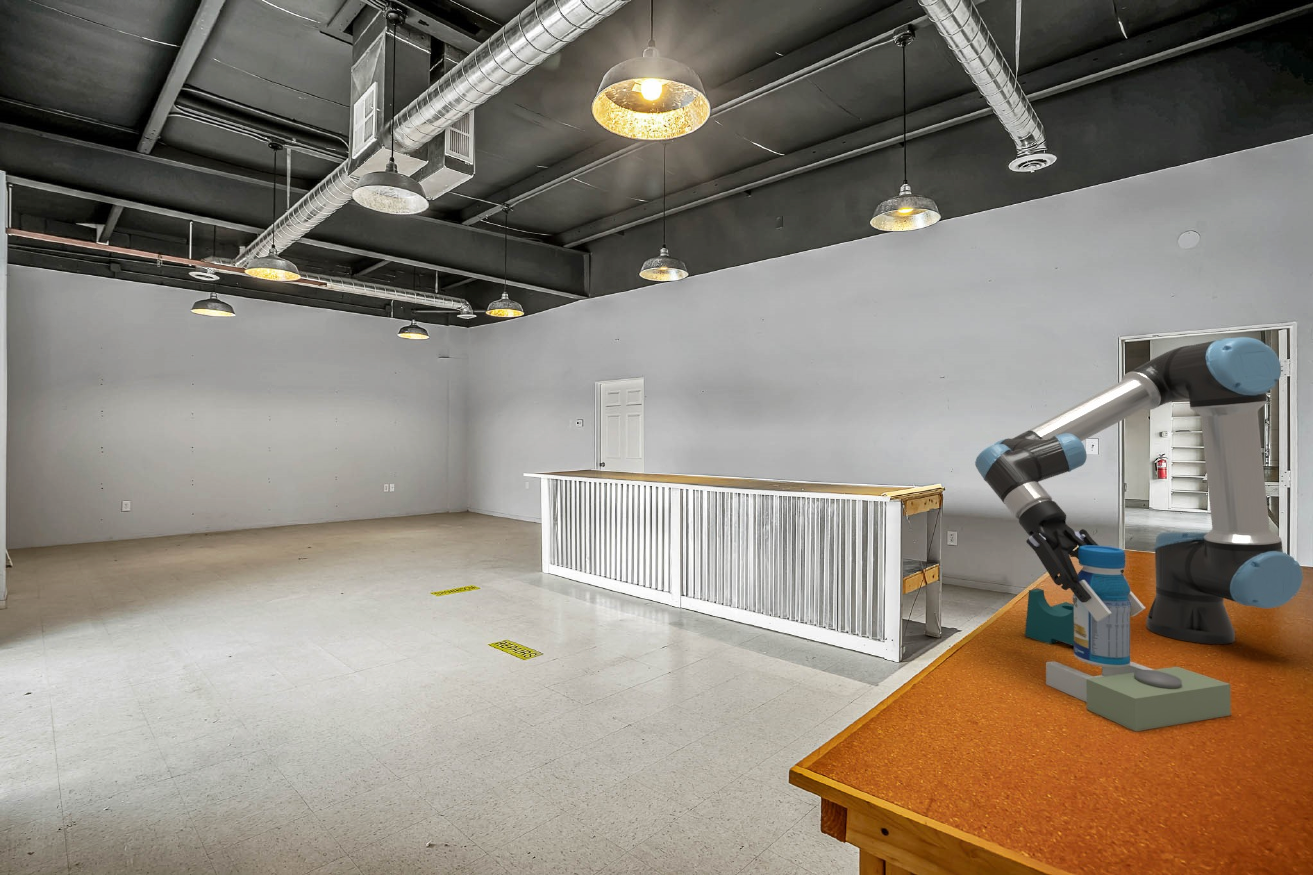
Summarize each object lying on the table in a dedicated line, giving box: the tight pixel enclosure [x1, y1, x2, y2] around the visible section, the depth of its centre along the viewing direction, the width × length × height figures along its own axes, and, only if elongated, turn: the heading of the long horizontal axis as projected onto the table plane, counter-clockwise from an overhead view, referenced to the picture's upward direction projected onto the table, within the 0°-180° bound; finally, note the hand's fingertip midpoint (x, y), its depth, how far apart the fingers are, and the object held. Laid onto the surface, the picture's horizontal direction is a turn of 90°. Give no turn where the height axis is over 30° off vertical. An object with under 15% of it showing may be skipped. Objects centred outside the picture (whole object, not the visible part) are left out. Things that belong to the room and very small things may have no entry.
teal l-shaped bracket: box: [1024, 587, 1074, 647], centre depth 138 cm, size 18×11×10 cm, turn 123°
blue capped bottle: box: [1072, 545, 1132, 668], centre depth 109 cm, size 8×8×20 cm
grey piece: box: [1045, 660, 1232, 732], centre depth 105 cm, size 20×18×6 cm
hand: (1121, 614), depth 106 cm, fingers closed on blue capped bottle, 8 cm apart
